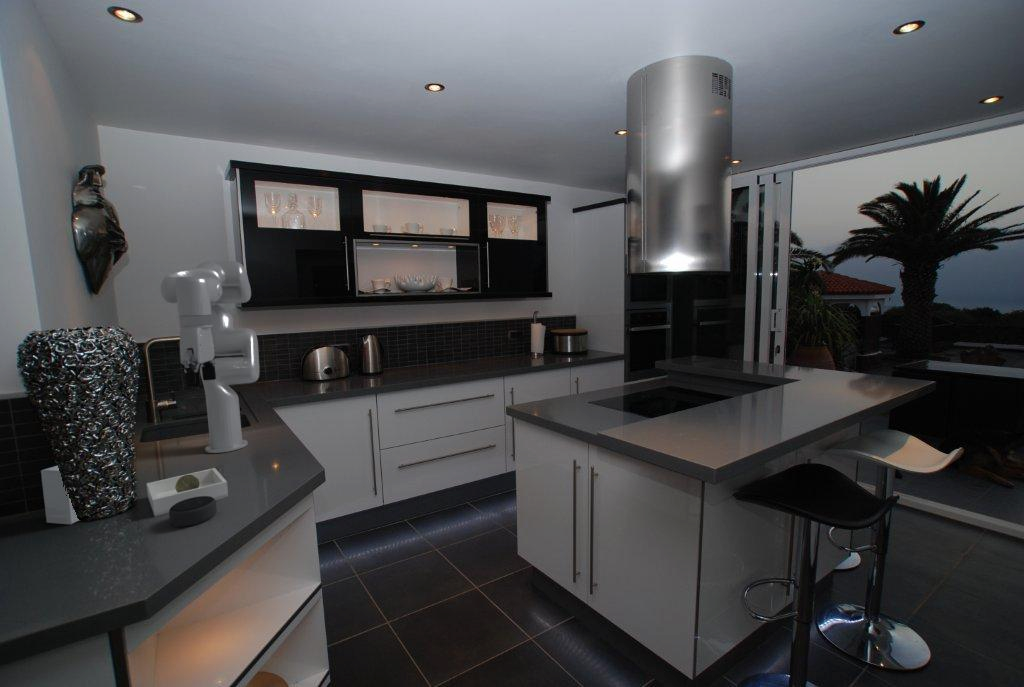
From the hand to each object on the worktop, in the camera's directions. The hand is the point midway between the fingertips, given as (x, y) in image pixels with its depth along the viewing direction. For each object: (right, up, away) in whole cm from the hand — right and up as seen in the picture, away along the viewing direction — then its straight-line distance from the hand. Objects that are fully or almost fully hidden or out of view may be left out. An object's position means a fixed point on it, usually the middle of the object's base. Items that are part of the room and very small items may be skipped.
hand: (202, 383), depth 128 cm
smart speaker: (+13, -30, -23) cm, 40 cm away
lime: (+3, -28, -10) cm, 30 cm away
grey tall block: (-17, -30, -19) cm, 40 cm away
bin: (+3, -29, -10) cm, 31 cm away
